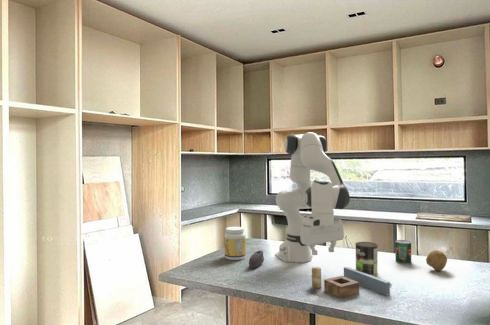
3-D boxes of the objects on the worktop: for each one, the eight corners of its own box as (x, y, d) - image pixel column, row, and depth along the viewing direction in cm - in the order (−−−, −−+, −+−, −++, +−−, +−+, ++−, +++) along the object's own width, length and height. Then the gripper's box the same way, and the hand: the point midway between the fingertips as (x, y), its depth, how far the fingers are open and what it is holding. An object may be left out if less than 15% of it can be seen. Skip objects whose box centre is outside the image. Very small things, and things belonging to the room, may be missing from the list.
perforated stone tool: (254, 271, 176) (254, 257, 176) (244, 269, 179) (244, 256, 179) (266, 263, 190) (266, 250, 190) (257, 262, 192) (257, 249, 192)
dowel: (310, 285, 155) (309, 267, 155) (317, 284, 157) (316, 266, 156) (316, 288, 151) (315, 270, 151) (323, 287, 153) (323, 268, 153)
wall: (343, 278, 164) (343, 267, 164) (347, 277, 165) (346, 266, 165) (386, 295, 143) (386, 282, 143) (389, 294, 144) (389, 282, 144)
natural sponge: (426, 272, 172) (425, 251, 172) (426, 267, 179) (426, 247, 179) (447, 274, 167) (447, 253, 167) (446, 269, 175) (446, 249, 175)
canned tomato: (414, 264, 185) (414, 243, 185) (399, 264, 185) (398, 243, 185) (407, 259, 193) (407, 239, 193) (393, 259, 193) (392, 239, 193)
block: (324, 290, 149) (324, 279, 149) (341, 285, 154) (341, 275, 154) (341, 298, 141) (341, 286, 141) (359, 293, 145) (359, 282, 145)
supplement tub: (221, 256, 204) (221, 227, 204) (240, 253, 209) (240, 225, 209) (229, 261, 193) (229, 231, 193) (249, 259, 198) (249, 229, 198)
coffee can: (365, 277, 165) (364, 247, 165) (351, 271, 174) (350, 242, 174) (382, 274, 168) (382, 245, 168) (368, 268, 178) (367, 240, 178)
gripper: (336, 216, 150) (336, 248, 150) (297, 220, 140) (298, 255, 140) (347, 218, 145) (347, 251, 145) (307, 222, 135) (308, 258, 135)
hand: (323, 253), depth 142 cm, fingers open, 7 cm apart
